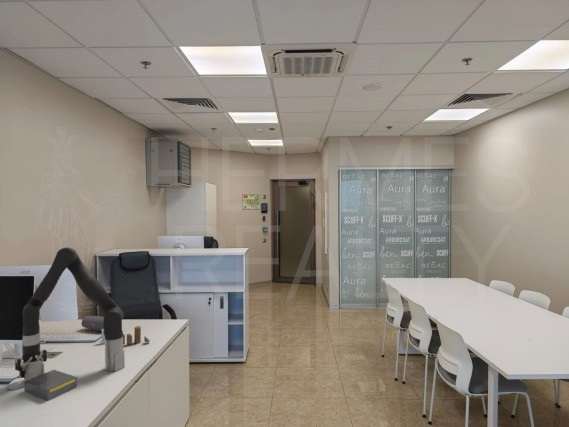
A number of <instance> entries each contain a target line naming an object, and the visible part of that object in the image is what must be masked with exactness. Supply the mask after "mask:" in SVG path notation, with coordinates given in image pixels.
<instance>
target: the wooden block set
mask: <svg viewBox="0 0 569 427" xmlns="http://www.w3.org/2000/svg"><path fill="white" fill-rule="evenodd" d="M141 333H142V327H141V326H140V325H137V326H135V327H134V336H133V335H132V334H131V333H127V334H125V333H123V346H124V345H125V344H126V345H132V344H133V341H134V344H139V343H141V342H142V341H141V340H142V337H141V335H142V334H141ZM133 337H134V339H133ZM125 338H126V339H125ZM125 342H126V343H125ZM144 343H150V339H149V338H148V337H147V336H146V335H144Z"/></svg>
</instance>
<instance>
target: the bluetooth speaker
mask: <svg viewBox="0 0 569 427" xmlns="http://www.w3.org/2000/svg"><path fill="white" fill-rule="evenodd" d="M103 320H104V316H99V315H85V316H83V318H82V320H81V326H82V328H86V329H89V330H91V331H95V332H102V329H104V325H103Z"/></svg>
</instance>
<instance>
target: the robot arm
mask: <svg viewBox="0 0 569 427" xmlns="http://www.w3.org/2000/svg"><path fill="white" fill-rule="evenodd" d="M66 269H67V270H68V271H69V272H70V274H72V277H73V278H74V280H75V283H76V284H77V286H78V288H79V289H80V291H81V292H82V293H83V295H85V296H86V298H87V299H88V300H90V301H92V302H93V303H94V304H96V305H97V306H98V307H99V308H100V309H101V311H102V312H103V314H104V315H103V317H104V320H103V325H104V335H105V344H104V356H105V357H104V362H105V364H104V368H105V371H106V372H117V371H120V370H121V369H124V368H125V366H126V365H125V350H124V345H123V334H124V331H123V319H124V316H125V314H124V311H123V310H122V308H121V307H120V306H119V305H118V304H117V303H116V302H115V301H114V300H113V299H112V298H111V297H110V295H109V293H108V292H107V291H106V289H105V288H104V286H103V285H102V284H101V283H100V281H99V280H98V278H97V277H96V276H95V275H94V273H92V272H91V271H90V270H89V269H88V267H86V265H84V263H83V261H82V259H81V258H80V256H79V255H78V253H77V251H76V249H74V248H71V247H62V248H60V249H59V250H58V251H57V252H56V255H55V256H54V260H53V262H52V264H51V266H50V267H49V270H48V271H47V272H46V275H45V276H44V277H43V279H42V280H41V282H40V283H39V285H38V286H37V288H36V289H35V291H34V292H33V294H32V296H31V297H30V298H29V300H28V301H27V302H26V304H25V305H24V307H23V309H22V323H23V326H22V340H21V342H22V343H21V344H22V346H21V347H22V349H21V350H22V352H21V353H22V356H21V357H19V358H18V357H17V358H15V359H14V364H15V365H14V369H15V371H17V372H19V371H20V377H21V378H20V379H24V377H25V370H24V369H25V368H26V366H28V364H29V362H35V361H41V359H40V358H43V363H45V362H47V360H48V356H47V353H48V351H47V349H42V350H41V334H40V333H41V332H40V331H41V330H40V311H41V308H42V307H43V305H44V303H45V302H46V301H47V300H48V299H49V298H50V296H51V294H52V292H53V291H54V289H55V288H56V286H57V284H58V282H59V281H60V278H61V276H62V275H63V273H64V272H65V270H66ZM40 356H41V357H40ZM24 363H26V364H24Z"/></svg>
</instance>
